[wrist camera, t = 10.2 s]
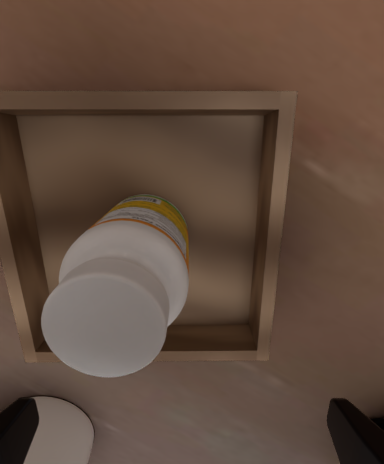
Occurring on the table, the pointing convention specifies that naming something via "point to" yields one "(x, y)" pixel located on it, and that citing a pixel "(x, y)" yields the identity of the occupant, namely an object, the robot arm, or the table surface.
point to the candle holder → (60, 434)
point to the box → (152, 183)
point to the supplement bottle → (120, 289)
